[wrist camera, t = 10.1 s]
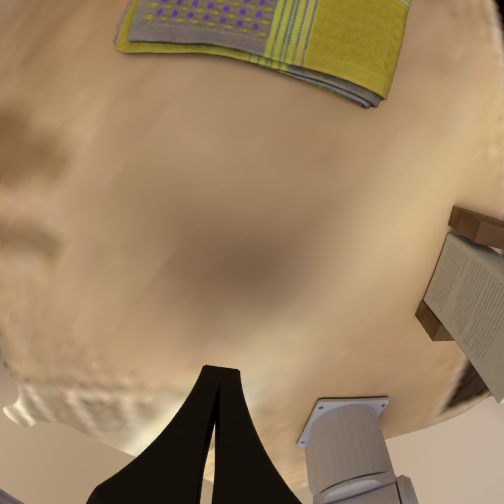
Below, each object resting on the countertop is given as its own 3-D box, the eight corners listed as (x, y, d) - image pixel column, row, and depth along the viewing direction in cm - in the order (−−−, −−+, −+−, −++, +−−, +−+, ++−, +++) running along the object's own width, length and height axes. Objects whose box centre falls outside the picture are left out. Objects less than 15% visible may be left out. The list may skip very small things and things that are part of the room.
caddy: (485, 327, 23) (507, 354, 19) (409, 327, 23) (430, 362, 18) (529, 216, 18) (560, 234, 14) (457, 189, 18) (495, 207, 14)
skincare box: (456, 302, 22) (530, 396, 11) (421, 299, 21) (496, 408, 11) (481, 238, 19) (579, 317, 8) (447, 229, 19) (555, 318, 8)
